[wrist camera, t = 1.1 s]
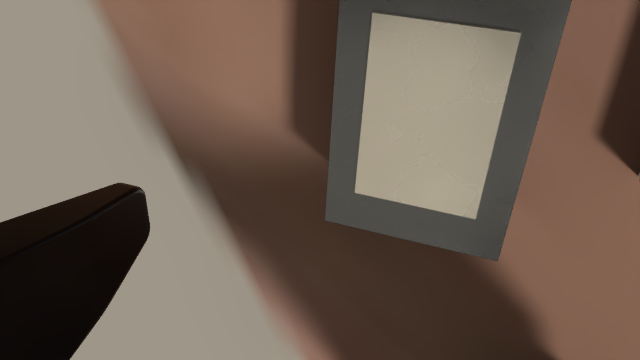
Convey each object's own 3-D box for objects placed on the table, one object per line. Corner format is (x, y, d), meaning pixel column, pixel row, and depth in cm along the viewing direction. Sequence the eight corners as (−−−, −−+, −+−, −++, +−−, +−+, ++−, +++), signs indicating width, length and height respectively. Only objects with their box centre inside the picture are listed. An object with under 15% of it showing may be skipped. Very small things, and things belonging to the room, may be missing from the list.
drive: (502, 205, 21) (497, 263, 18) (351, 173, 23) (323, 221, 20) (581, -83, 16) (591, -68, 13) (376, -100, 17) (344, -90, 14)
